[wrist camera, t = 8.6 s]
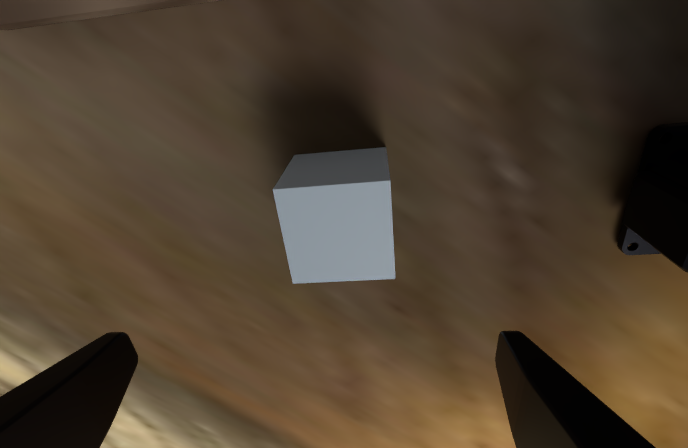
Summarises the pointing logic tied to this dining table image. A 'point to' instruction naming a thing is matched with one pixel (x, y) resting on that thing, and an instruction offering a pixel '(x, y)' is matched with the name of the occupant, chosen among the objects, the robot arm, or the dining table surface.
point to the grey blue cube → (337, 216)
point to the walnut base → (74, 10)
